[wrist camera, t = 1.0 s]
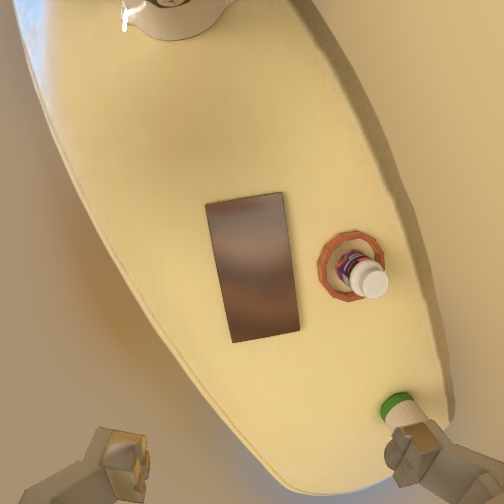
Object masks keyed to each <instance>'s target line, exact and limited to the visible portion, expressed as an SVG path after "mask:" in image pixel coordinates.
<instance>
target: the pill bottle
mask: <svg viewBox="0 0 504 504" xmlns="http://www.w3.org/2000/svg"><path fill="white" fill-rule="evenodd" d="M335 269H336V273H337V275H338V277H339V278H340V279H341V280H342V281H343V282H344V283H345V284H346V285H347V286H348V287H349V288H350V289H351V290H352V291H353V292H354V293H356V294H357V295H359V296H362V297H368V298H370V299H377V298H379V297H381V296H382V295H384V294H385V292H386V291H387V289H388V286H389V279H388V276H387V275H386V274H385V273H384V271H383V268H382V267H381V265H380V264H379V263H378V262H376V261H374V260H373V259H371V258H370V257H368V256H366V255H365V254H363V253H362V252H360V251H358V250H347V251H345V252H344V253H342V254H341V255H340V256H339V258H338V259H337V262H336V266H335Z"/></svg>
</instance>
